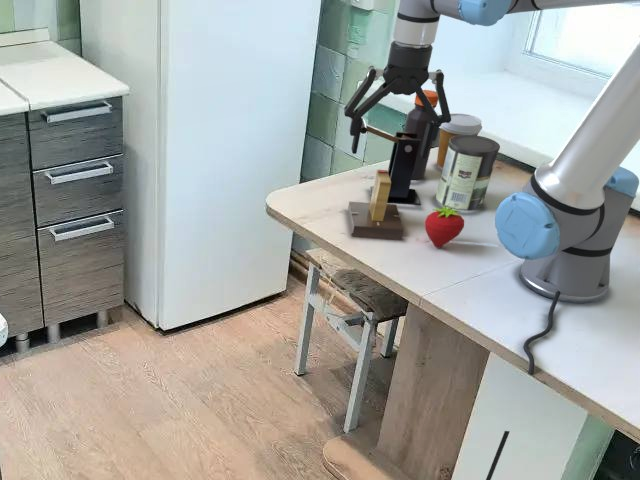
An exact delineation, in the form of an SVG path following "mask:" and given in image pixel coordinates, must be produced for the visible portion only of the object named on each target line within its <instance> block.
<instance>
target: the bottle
mask: <svg viewBox="0 0 640 480" xmlns="http://www.w3.org/2000/svg"><path fill="white" fill-rule="evenodd" d="M422 90H423V91H424V93H425V95H426V96H427V98H428V100H429V101H430V103H431V105H432V106H433V108H434V110H435V108H436V107H437V105H438V104H439V101H438V97H437V93H436V90H432V89H431V90H430V89H422ZM414 97H415V98H414V103H413V104H414V108H412V109H411V110H409V111H408V112H407V115H406V120H405V122H404V128H403V132H417V133H418V135H417V139H420V140H421V141H420V145H419V150H418V154H417V158H416V162H415V166H414V171H413V175H412V179H411V181H412V182H413V181H421V180H423V179H424V177H425V174H426V169H427V166H428V161H429V157H430V155H431V149H432V146H433V141H430V144H429V148H428V152H427V156H426V158H422V157H421V154H420V151H421V147H422V143H423V139H424V135H425V130H426V126H427V122H428V121H432V119H431V117H430V116H429V114H428V112H427V111H426V109H425V107H424V106H423V104H422V102H421V101H420V99H419V98H418V96H417V94H416V93H415V96H414Z"/></svg>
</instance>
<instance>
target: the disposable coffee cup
mask: <svg viewBox="0 0 640 480" xmlns="http://www.w3.org/2000/svg"><path fill="white" fill-rule="evenodd" d="M450 116H451V121H450V122H449V123H442V124H441V126H440V127H439V128H440V131H439V132H440V133H439V142H438V143H439V144H438V149H437V158H436V166H438V167H440V168H442V169H443V166H444V162H445V158H446V154H447V150H448V146H449V140H450V138H452V137H454V136H457V135H476V136H479V133H480V132H481V130H482V129H483V126H482V120H481V119H480V118H479V117H477V116H474V115H471V114H467V113H456V112H452V113H450Z"/></svg>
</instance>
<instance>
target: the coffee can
mask: <svg viewBox="0 0 640 480" xmlns="http://www.w3.org/2000/svg"><path fill="white" fill-rule="evenodd" d="M500 149H501V145H500V144H499V143H498V142H497V141H496V140H494V139H492V138H489V137H486V136H481V135H477V136H476V135H457V136H454V137H452V138H450V140H449V146H448V150H447V154H446V158H445V162H444V166H443V168H442V171H441V174H440V178H439V183H438V186H437V191H436V194H435V200H436V201H437V202H438V203H439V204H440V205H442V206H444V207H445V206H446V208H448V209H449V208H452V210H456V211H474V210H478V209H480V208H482V206H483V205H484V201H485V198H486V194H487V190H488V186H489V183H490V180H491V177H492V173H493V170H494V166H495V164H496V161H497V157H498V153H499V151H500ZM448 204H449V205H448ZM447 205H448V206H447Z"/></svg>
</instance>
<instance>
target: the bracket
mask: <svg viewBox="0 0 640 480" xmlns="http://www.w3.org/2000/svg"><path fill="white" fill-rule="evenodd" d="M403 135H405V136H407V137H410V138H401V137H402V136H403ZM417 135H418V133H417V132H404V130H396V132H395V135H394V136H396V137H399V140H398V143H395V142H393V145H392V149H391V154H390V159H389V164H388V169H387V171H388V174H389V177H390V180H391V187H390V191H389V196H388V200H387V204H394V205H411V206H421V202H420V199H419V197H418V193H417V191H416V189H415V188H410V187H411V183H412V180H411V179H412V175H413V171H414V166H415V162H416V158H417V154H418V150H419V145H420V141H421V140H420V139H417ZM369 187H370V192H371V193H372V192H373V187H374V185H373V186H369Z"/></svg>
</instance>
